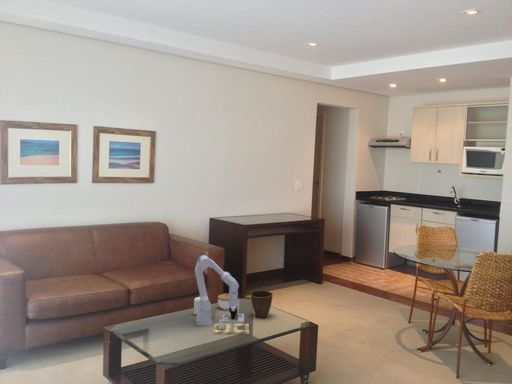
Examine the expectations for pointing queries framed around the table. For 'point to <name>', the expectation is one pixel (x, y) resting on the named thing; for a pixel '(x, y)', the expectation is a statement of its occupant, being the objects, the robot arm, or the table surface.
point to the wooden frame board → (231, 329)
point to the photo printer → (196, 304)
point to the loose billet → (235, 317)
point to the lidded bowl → (224, 301)
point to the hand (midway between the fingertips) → (233, 318)
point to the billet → (221, 324)
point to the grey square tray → (240, 321)
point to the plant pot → (261, 303)
